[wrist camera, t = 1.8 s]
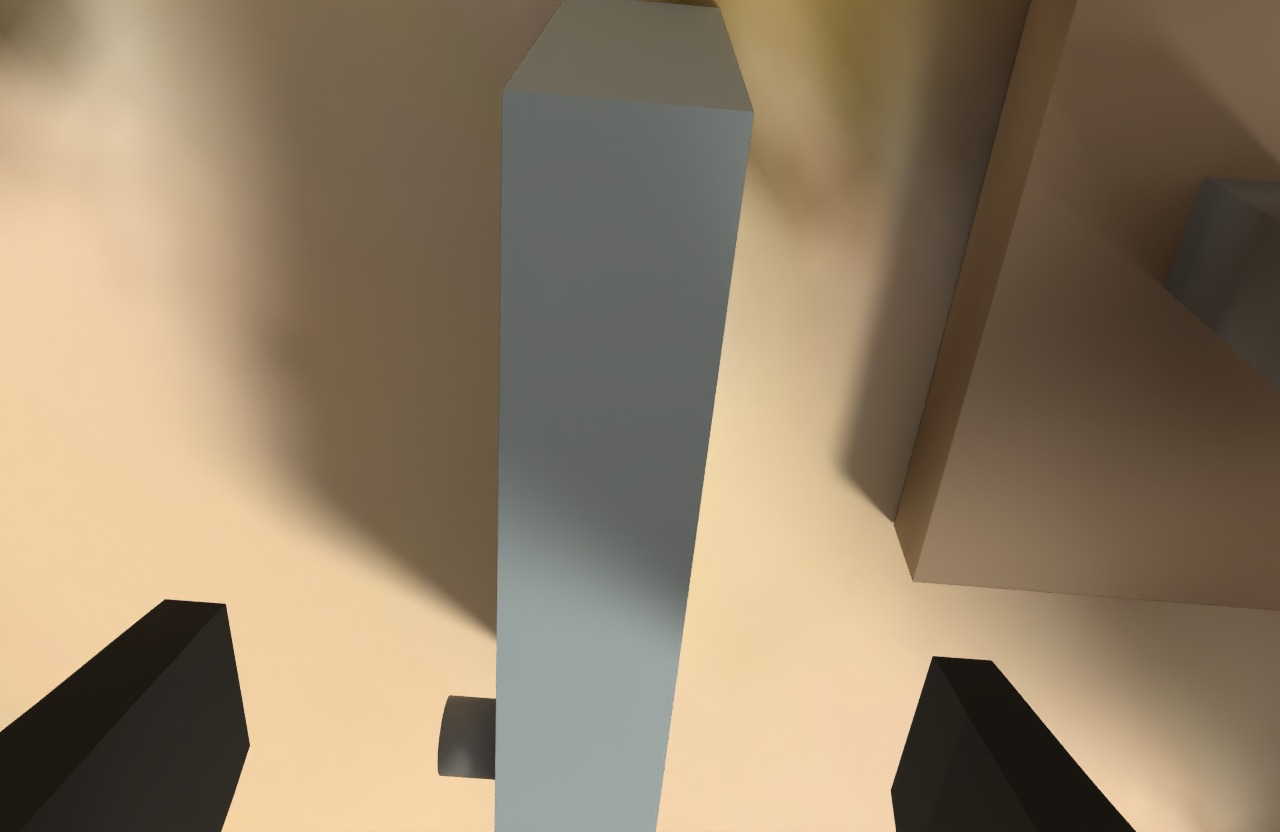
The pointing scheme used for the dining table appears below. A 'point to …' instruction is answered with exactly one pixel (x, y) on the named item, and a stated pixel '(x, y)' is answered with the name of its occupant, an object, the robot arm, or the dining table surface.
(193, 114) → the dining table surface
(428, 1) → the dining table surface
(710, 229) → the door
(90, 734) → the robot arm
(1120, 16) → the plinth
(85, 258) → the dining table surface
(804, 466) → the dining table surface
